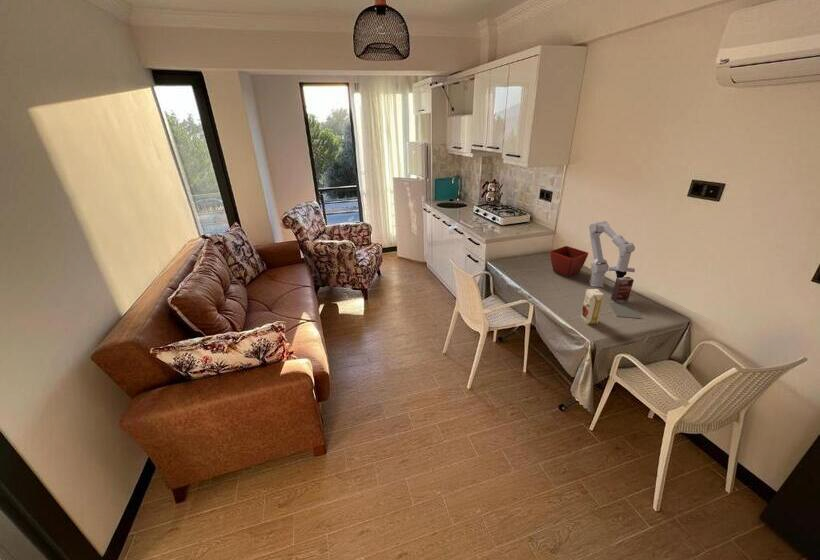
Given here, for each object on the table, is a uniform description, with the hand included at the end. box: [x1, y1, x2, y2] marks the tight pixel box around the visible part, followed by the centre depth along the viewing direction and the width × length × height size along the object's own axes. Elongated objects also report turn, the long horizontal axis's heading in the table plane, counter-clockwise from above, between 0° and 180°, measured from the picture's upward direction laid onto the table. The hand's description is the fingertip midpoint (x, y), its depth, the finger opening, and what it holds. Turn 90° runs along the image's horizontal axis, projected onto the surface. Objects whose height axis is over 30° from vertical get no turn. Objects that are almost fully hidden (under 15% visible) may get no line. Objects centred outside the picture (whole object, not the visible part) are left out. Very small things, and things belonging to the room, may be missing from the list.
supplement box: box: [610, 276, 635, 304], centre depth 204 cm, size 9×5×16 cm, turn 97°
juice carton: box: [580, 288, 605, 325], centre depth 185 cm, size 8×9×19 cm
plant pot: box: [550, 245, 589, 278], centre depth 245 cm, size 19×19×17 cm
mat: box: [608, 302, 643, 320], centre depth 197 cm, size 16×13×1 cm
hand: (618, 281), depth 211 cm, fingers closed
